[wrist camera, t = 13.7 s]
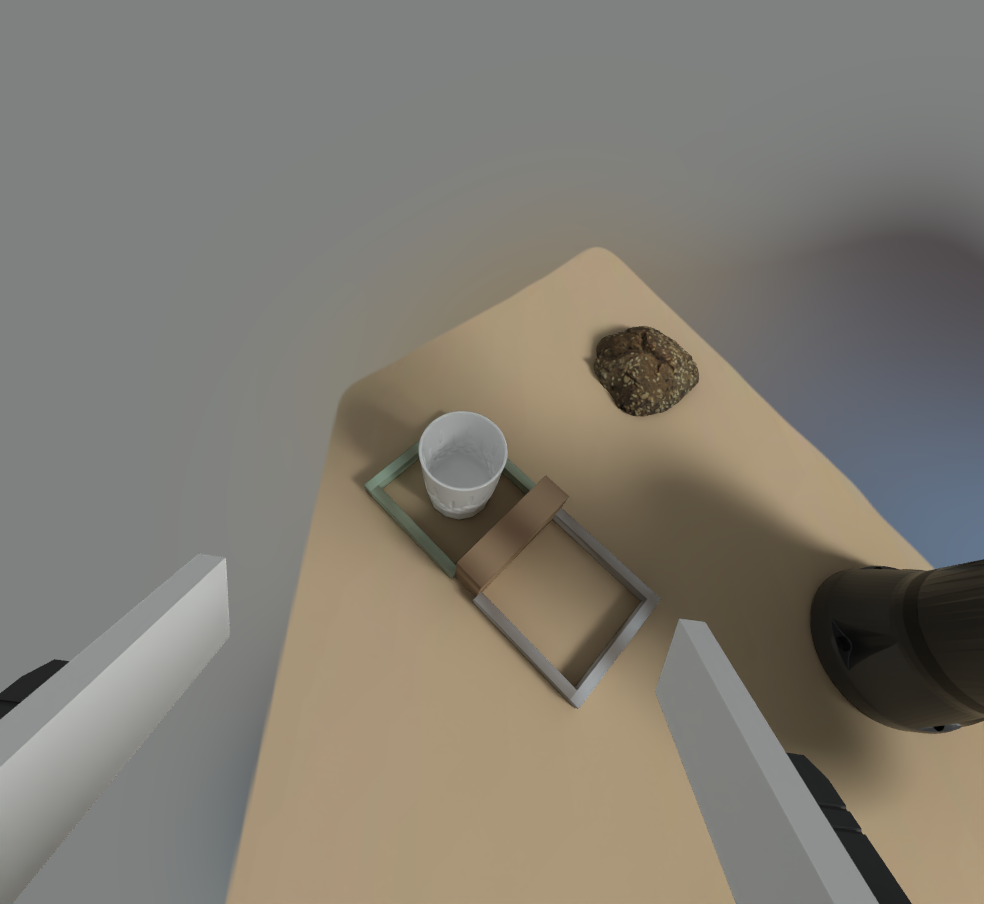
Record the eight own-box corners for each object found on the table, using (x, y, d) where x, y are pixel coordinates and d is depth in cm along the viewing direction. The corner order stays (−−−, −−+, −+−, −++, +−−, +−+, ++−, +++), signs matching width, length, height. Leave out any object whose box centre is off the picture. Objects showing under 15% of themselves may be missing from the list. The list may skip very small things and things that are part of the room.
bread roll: (706, 390, 59) (727, 366, 55) (634, 430, 55) (651, 409, 51) (643, 321, 63) (658, 294, 59) (572, 354, 59) (583, 329, 55)
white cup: (424, 455, 51) (421, 409, 42) (495, 458, 51) (506, 412, 42) (420, 524, 47) (415, 489, 38) (496, 525, 48) (508, 491, 39)
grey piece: (455, 418, 53) (456, 389, 48) (654, 601, 46) (682, 591, 41) (366, 490, 48) (356, 467, 43) (574, 707, 41) (593, 712, 36)
